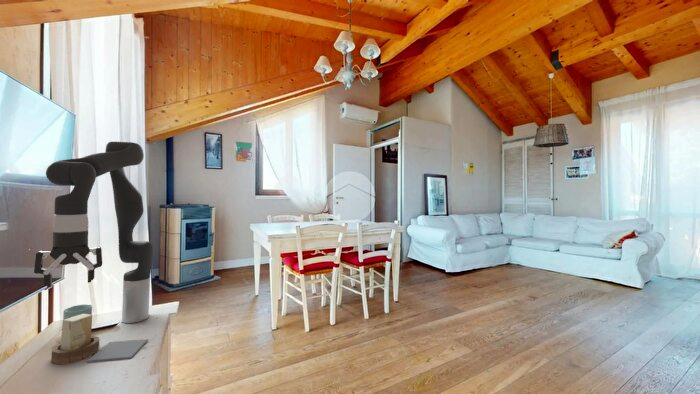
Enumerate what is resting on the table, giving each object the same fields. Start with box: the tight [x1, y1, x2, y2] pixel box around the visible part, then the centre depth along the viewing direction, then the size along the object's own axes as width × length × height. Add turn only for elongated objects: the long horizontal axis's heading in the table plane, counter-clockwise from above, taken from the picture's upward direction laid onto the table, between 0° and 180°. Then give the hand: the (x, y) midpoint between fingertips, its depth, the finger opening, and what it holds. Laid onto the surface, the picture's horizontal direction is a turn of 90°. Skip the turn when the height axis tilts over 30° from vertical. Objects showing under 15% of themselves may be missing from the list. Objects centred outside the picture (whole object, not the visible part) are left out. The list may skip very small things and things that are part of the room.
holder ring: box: [50, 335, 100, 365], centre depth 95 cm, size 11×11×4 cm
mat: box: [87, 338, 149, 363], centre depth 98 cm, size 12×12×1 cm
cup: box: [62, 303, 93, 321], centre depth 108 cm, size 8×8×10 cm
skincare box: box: [60, 314, 93, 351], centre depth 95 cm, size 6×4×12 cm
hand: (70, 284), depth 85 cm, fingers open, 8 cm apart
